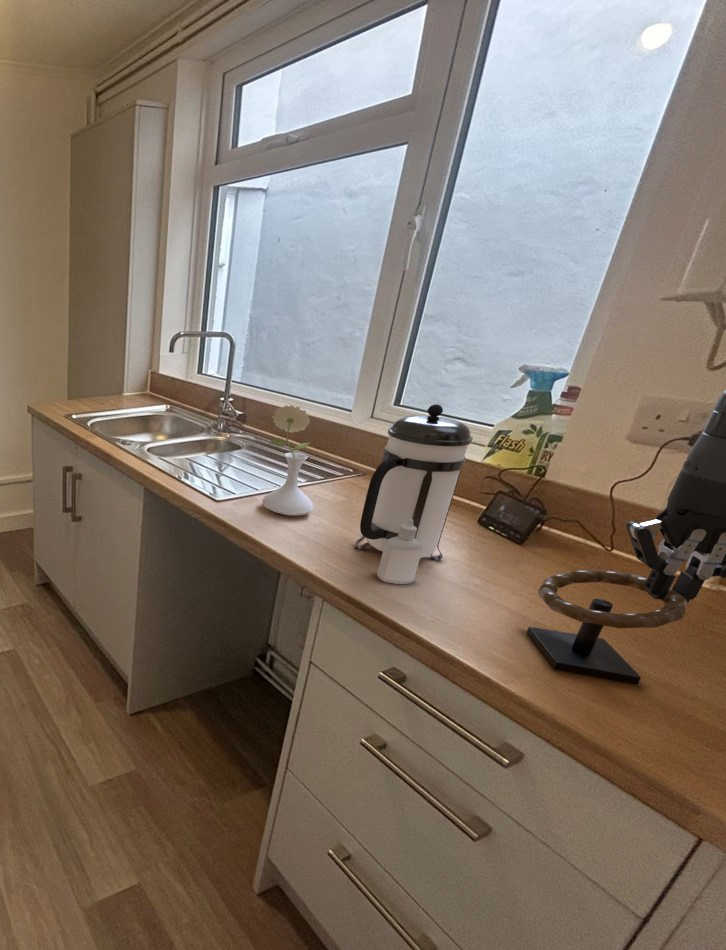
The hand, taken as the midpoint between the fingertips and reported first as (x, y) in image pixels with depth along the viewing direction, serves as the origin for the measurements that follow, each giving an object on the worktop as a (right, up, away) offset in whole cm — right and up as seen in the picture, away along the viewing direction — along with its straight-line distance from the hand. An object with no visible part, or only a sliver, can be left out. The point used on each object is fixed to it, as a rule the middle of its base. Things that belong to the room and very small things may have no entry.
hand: (666, 597), depth 69 cm
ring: (-5, 0, +2) cm, 6 cm away
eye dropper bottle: (-19, -2, +27) cm, 33 cm away
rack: (-5, -10, +6) cm, 13 cm away
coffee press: (-13, +2, +36) cm, 38 cm away
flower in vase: (-25, +11, +58) cm, 64 cm away
